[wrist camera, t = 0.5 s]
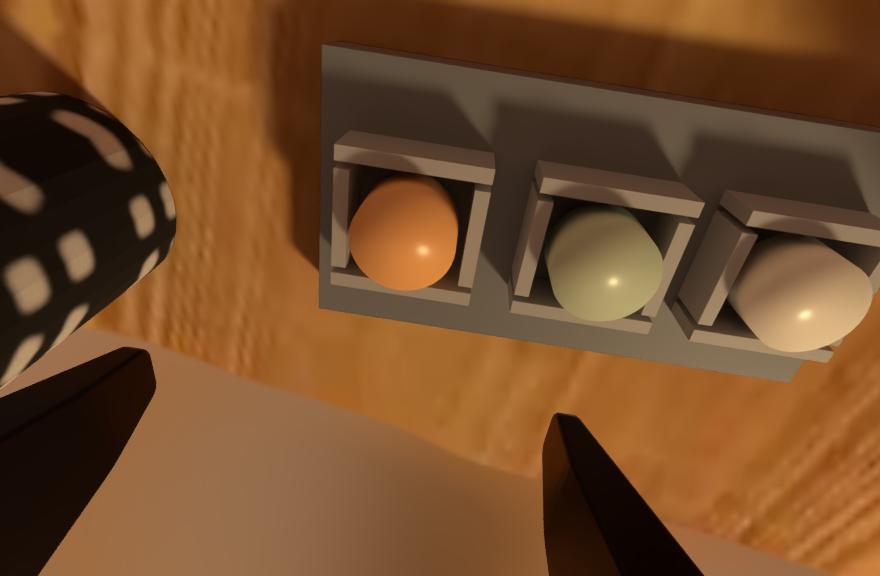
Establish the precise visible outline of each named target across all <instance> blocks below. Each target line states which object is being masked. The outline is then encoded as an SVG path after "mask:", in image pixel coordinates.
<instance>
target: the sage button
mask: <svg viewBox="0 0 880 576" xmlns="http://www.w3.org/2000/svg"><path fill="white" fill-rule="evenodd" d="M545 260H546V264H547V269H548V273H549V277H550V281H551V285H552V289H553V292H554V295H555V297H556V299H557V300H558V302H559V303H560V304H561V306H562V307H563V308H564V309H565V310H567V311H568V312H569V313H571V314H573V315H575V316H577V317H579V318H582V319H585V320H590V321H611V320H616V319H620V318H623V317H626V316H628V315H630V314H632V313H634V312H636V311H637V310H639V309H640V308H642V307H643V306H644V305H645V304H646V303H647V302H648V301H649V300H650V299H651V298H652V297H653V296H654V294H655V293H656V291H657V289H658V287H659V285H660V283H661V280H662V276H663V260H662V256H661V253H660V251H659V249H658V247H657V246H656V245H655V243H654V242H653V240H652V239H651V238H650V236H649V235H648V234H647V232H646V231H645V229H644V228H643V227H642V225H641V224H640V223H639V221H638V220H637V219H636V217H635V216H634V215H633V214H632V213H630V212H629V211H628V210H626V209H624V208H622V207H620V206H617V205H613V204H607V203H592V204H587V205H583V206H580V207H578V208H575V209H573V210H572V211H570V212H568V213H567V214H565V215H564V216H563V217H562V218H560V219H559V220H558V221H557V223H556V224H555V225H554V226H553V228H552V229H551V231H550V233H549V235H548V237H547V240H546V244H545Z"/></svg>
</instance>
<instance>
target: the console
mask: <svg viewBox="0 0 880 576" xmlns="http://www.w3.org/2000/svg"><path fill="white" fill-rule="evenodd" d="M402 172H412V173H418V174H423V175H426V176H429V177H431V178H433V179H435V180H436V181H438V182H439V183H440V184H442V185H443V186H444V187H445V188H446V189H447V190H448V192H449V193H450V194H451V196H452V197H453V199H454V201H455V203H456V206H457V209H458V214H459V228H458V236H457V245H456V253H455V257H454V260H453V262H452V265H451V266H450V268H449V270H448V271H447V272H446V274H445V275H444V276H443V277H442V278H441V279H439V280H438V281H437V282H435V283H434V284H432V285H430V286H427V287H425V288H422V289H418V290H411V291H403V290H395V289H391V288H388V287H385V286H382V285H380V284H378V283H376V282H375V281H373V280H372V279H370V278H369V277H368V276H367V275H366V274H365V273H364V272H363V271H362V270H361V269H360V268H359V266H358V265H357V263H356V262H355V260H354V258H353V256H352V253H351V250H350V245H349V229H350V225H351V222H352V220H353V217H354V216H355V214H356V212H357V211H358V209H359V208H360V206H361V205H362V203H363V201H364V200H365V198H366V197H367V195H368V193H369V192H370V190H371V189H372V188H373V187H374V186H375V185H376V184H377V183H378V182H379V181H381V180H382V179H384V178H386V177H388V176H390V175H393V174H396V173H402ZM592 203H607V204H613V205H617V206H620V207H622V208H624V209H626V210H628V211H629V212H630V213H632V214H633V215H634V216H635V217H636V219H637V220H638V221H639V223H640V224H641V225H642V227H643V228H644V229H645V231H646V232H647V234H648V235H649V236H650V238H651V239H652V240H653V242H654V243H655V245H656V246H657V247H658V249H659V251H660V253H661V256H662V260H663V276H662V280H661V283H660V285H659V287H658V289H657V291H656V293H655V294H654V296H653V297H652V298H651V299H650V300H649V301H648V302H647V303H646V304H645V305H644V306H643V307H642V308H640V309H639V310H637V311H636V312H634V313H632V314H630V315H628V316H626V317H623V318H620V319H616V320H611V321H590V320H585V319H582V318H579V317H577V316H575V315H573V314H571V313H569V312H568V311H567V310H565V309H564V308H563V307H562V306H561V304H560V303H559V302H558V300H557V299H556V297H555V295H554V292H553V289H552V285H551V281H550V277H549V273H548V269H547V264H546V260H545V244H546V240H547V237H548V235H549V233H550V231H551V229H552V228H553V226H554V225H555V224H556V223H557V221H558V220H559V219H560V218H562V217H563V216H564V215H565V214H567V213H568V212H570V211H572V210H573V209H575V208H578V207H580V206H583V205H587V204H592ZM794 233H796V234H802V235H808V236H811V237H814V238H816V239H817V240H819V241H821V242H822V243H823V244H825V245H826V246H828V247H829V248H831V249H832V250H834V251H835V252H837V253H838V254H839V255H841V256H842V257H844V258H845V259H847V260H848V261H850V262H851V263H853V264H854V265H856V266H857V267H858V268H860V269H861V270H862V271H863V272H865V274H866V275H867V276H868V278H869V280H870V282H871V285H872V291H873V295H872V297H873V296H874V294H875V293H876V291H877V290H878V288H879V287H880V127H876V126H870V125H864V124H857V123H851V122H845V121H839V120H832V119H826V118H820V117H813V116H807V115H801V114H795V113H788V112H782V111H776V110H769V109H763V108H757V107H750V106H744V105H738V104H732V103H725V102H719V101H713V100H706V99H700V98H694V97H688V96H681V95H675V94H669V93H662V92H656V91H650V90H643V89H637V88H631V87H625V86H618V85H612V84H606V83H599V82H593V81H587V80H581V79H574V78H568V77H562V76H555V75H549V74H543V73H537V72H530V71H524V70H518V69H511V68H505V67H499V66H492V65H486V64H480V63H474V62H467V61H461V60H455V59H448V58H442V57H436V56H430V55H423V54H417V53H411V52H404V51H398V50H392V49H385V48H379V47H373V46H367V45H360V44H354V43H348V42H341V41H336V42H331V43H327V44H322V80H321V165H320V251H319V308H321V309H328V310H334V311H340V312H346V313H353V314H359V315H365V316H372V317H378V318H384V319H391V320H397V321H403V322H409V323H416V324H422V325H428V326H435V327H441V328H447V329H454V330H460V331H466V332H472V333H479V334H485V335H491V336H498V337H504V338H510V339H516V340H523V341H529V342H535V343H542V344H548V345H554V346H561V347H567V348H573V349H579V350H586V351H592V352H598V353H605V354H611V355H617V356H623V357H630V358H636V359H642V360H649V361H655V362H661V363H668V364H674V365H680V366H686V367H693V368H699V369H705V370H712V371H718V372H724V373H731V374H737V375H743V376H749V377H756V378H762V379H768V380H775V381H781V382H787V383H789V382H790V381H791V379H792V378H793V376H794V375H795V373H796V372H797V370H798V369H799V367H800V366H801V364H802V363H803V361H804V360H812V361H818V362H824V363H827V362H828V361H829V359H830V358H831V356H832V355H833V353H834V351H833V350H832V349H831V348H830V347H829V346H828V345H827V346H824V347H821V348H818V349H815V350H810V351H804V352H785V351H780V350H776V349H773V348H771V347H769V346H767V345H765V344H764V343H763V342H762V341H761V340H760V339H759V338H758V337H757V336H756V335H755V334H754V333H753V331H752V330H751V329H750V328H749V327H748V325H747V324H746V323H745V322H744V321H743V319H742V318H741V317H740V316H739V315H738V313H737V312H736V311H735V310H734V309H733V307H732V306H731V305H730V303H729V302H728V300H727V295H728V293H729V291H730V289H731V287H732V285H733V283H734V282H735V280H736V278H737V276H738V274H739V272H740V270H741V268H742V266H743V264H744V262H745V260H746V258H747V256H748V254H749V252H750V250H751V248H752V246H753V245H755V244H757V243H758V242H760V241H763V240H765V239H767V238H770V237H773V236H777V235H782V234H794ZM845 336H846V335H845ZM845 336H844V337H842V338H841V339H839V340H837V341H835V342H833V343H831V344H829V345H833V346H839V345H840V343H841V342H842V340H843V339H844V338H845Z"/></svg>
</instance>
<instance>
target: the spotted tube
mask: <svg viewBox="0 0 880 576" xmlns="http://www.w3.org/2000/svg"><path fill="white" fill-rule="evenodd" d="M175 234H176V212H175V207H174V201H173V197H172V194H171V192H170V189H169V186H168V183H167V181H166V179H165V177H164V175H163V174H162V172H161V170H160V168H159V166H158V165H157V163H156V161H155V160H154V159H153V157H152V156H151V155H150V153H149V152H148V151H147V150H146V148H145V147H144V146H143V144H142V143H141V142H140V141H139V140H138V139H137V138H136V137H135V136H134V135H133V134H132V133H131V132H130V131H128V130H127V129H126V128H125V127H124V126H123V125H122V124H120V123H119V122H117V121H116V120H115V119H113V118H112V117H111V116H109V115H108V114H107V113H105V112H103V111H101V110H100V109H98V108H96V107H94V106H92V105H90V104H88V103H86V102H84V101H82V100H79V99H76V98H73V97H70V96H67V95H64V94H58V93H51V92H43V91H39V92H27V93H19V94H13V95H8V96H2V97H0V389H1V388H3V387H4V386H5V385H7V384H8V383H9V382H10V381H12V380H13V379H14V378H15V377H17V376H18V375H19V374H21V373H22V372H23V371H24V370H26V369H27V368H28V367H30V366H31V365H32V364H33V363H35V362H36V361H37V360H39V359H40V358H41V357H42V356H44V355H45V354H46V353H48V352H49V351H50V350H51V349H53V348H54V347H55V346H56V345H58V344H59V343H60V342H62V341H63V340H64V339H65V338H67V337H68V336H69V335H70V334H72V333H73V332H74V331H76V330H77V329H78V328H79V327H81V326H82V325H83V324H85V323H86V322H87V321H88V320H90V319H91V318H92V317H93V316H95V315H96V314H97V313H99V312H100V311H101V310H102V309H104V308H105V307H106V306H107V305H109V304H110V303H111V302H113V301H114V300H115V299H116V298H118V297H119V296H120V295H122V294H123V293H124V292H125V291H127V290H128V289H129V288H130V287H132V286H133V285H134V284H136V283H137V282H138V281H139V280H141V279H142V278H143V277H144V276H146V275H147V274H148V273H150V272H151V271H152V270H153V269H155V268H156V267H157V266H158V265H159V264H160V263H161V262H162V261H163V260H164V259H165V257H166V256H167V254H168V253H169V251H170V249H171V248H172V244H173V241H174V237H175Z"/></svg>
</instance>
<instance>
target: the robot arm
mask: <svg viewBox="0 0 880 576" xmlns="http://www.w3.org/2000/svg"><path fill="white" fill-rule="evenodd" d="M155 390H156V379H155V375H154V370H153V366H152V361H151V357H150V354H149V353H148V351H147V350H144V349H139V348H133V347H122V348H119V349H117V350H114V351H112V352H109V353H107V354H104V355H102V356H100V357H97V358H95V359H93V360H90V361H88V362H85V363H83V364H81V365H78V366H76V367H73V368H71V369H69V370H66V371H64V372H61V373H59V374H57V375H54V376H52V377H49V378H47V379H45V380H42V381H40V382H37V383H35V384H33V385H31V386H28V387H25V388H23V389H21V390H18V391H16V392H13V393H11V394H9V395H6V396H4V397H1V398H0V576H38V575H39V573H40V572H41V570H42V569H43V567H44V566H45V565H46V563H47V562H48V560H49V559H50V557H51V556H52V555H53V553H54V552H55V550H56V549H57V547H58V546H59V545H60V543H61V542H62V540H63V539H64V537H65V536H66V534H67V533H68V531H69V530H70V529H71V527H72V526H73V524H74V523H75V521H76V520H77V519H78V517H79V516H80V514H81V513H82V512H83V510H84V509H85V507H86V506H87V504H88V503H89V502H90V500H91V499H92V497H93V496H94V494H95V493H96V492H97V490H98V489H99V487H100V486H101V484H102V483H103V481H104V480H105V478H106V477H107V476H108V474H109V472H110V471H111V470H112V468H113V466H114V465H115V463H116V461H117V460H118V458H119V456H120V455H121V453H122V451H123V449H124V447H125V446H126V444H127V442H128V440H129V439H130V437H131V435H132V433H133V431H134V430H135V428H136V426H137V424H138V422H139V421H140V419H141V417H142V415H143V413H144V411H145V410H146V408H147V406H148V404H149V403H150V401H151V399H152V397H153V395H154V393H155ZM542 464H543V521H544V539H545V549H546V556H547V564H548V571H549V576H704V575H703V573H702V572H701V571H700V570H699V568H698V567H697V566H696V565H695V563H694V562H693V561H692V560H691V558H690V557H689V556H688V555H687V553H686V552H685V551H684V549H683V548H682V547H681V546H680V544H679V543H678V542H677V541H676V539H675V538H674V537H673V536H672V534H671V533H670V532H669V531H668V529H667V528H666V527H665V526H664V524H663V523H662V522H661V521H660V519H659V518H658V517H657V516H656V514H655V513H654V512H653V510H652V509H651V508H650V507H649V505H648V504H647V503H646V502H645V500H644V499H643V498H642V497H641V495H640V494H639V493H638V492H637V490H636V489H635V488H634V487H633V485H632V484H631V483H630V482H629V480H628V479H627V478H626V477H625V475H624V474H623V473H622V472H621V470H620V469H619V468H618V466H617V465H616V464H615V463H614V461H613V460H612V459H611V458H610V456H609V455H608V454H607V453H606V451H605V450H604V449H603V448H602V446H601V445H600V444H599V443H598V441H597V440H596V439H595V438H594V436H593V435H592V434H591V433H590V431H589V430H588V429H587V428H586V426H585V425H584V424H583V422H582V421H581V420H580V419H579V418H578V417H577V416H575V415H570V414H564V413H556V414H554V416H553V417H552V420H551V423H550V426H549V429H548V432H547V435H546V438H545V441H544V445H543V452H542Z"/></svg>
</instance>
